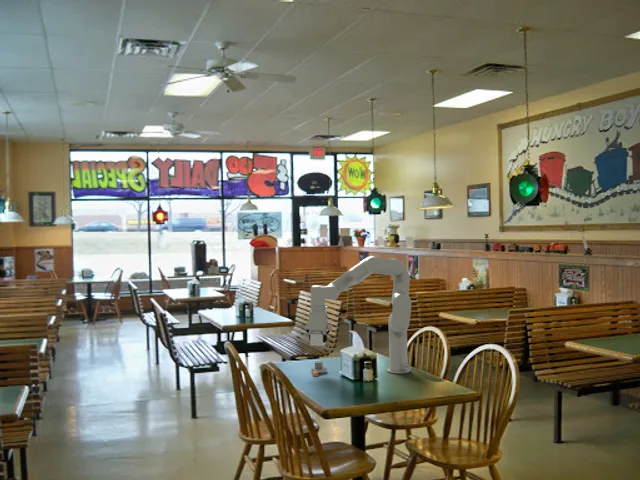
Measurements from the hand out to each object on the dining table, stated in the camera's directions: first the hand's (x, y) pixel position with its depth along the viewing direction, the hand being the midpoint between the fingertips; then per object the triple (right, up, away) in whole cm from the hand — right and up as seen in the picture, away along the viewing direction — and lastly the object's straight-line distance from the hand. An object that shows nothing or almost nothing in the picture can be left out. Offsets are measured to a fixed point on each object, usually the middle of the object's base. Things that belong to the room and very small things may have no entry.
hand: (318, 341), depth 332 cm
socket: (0, -1, 0) cm, 1 cm away
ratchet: (0, -16, -2) cm, 16 cm away
